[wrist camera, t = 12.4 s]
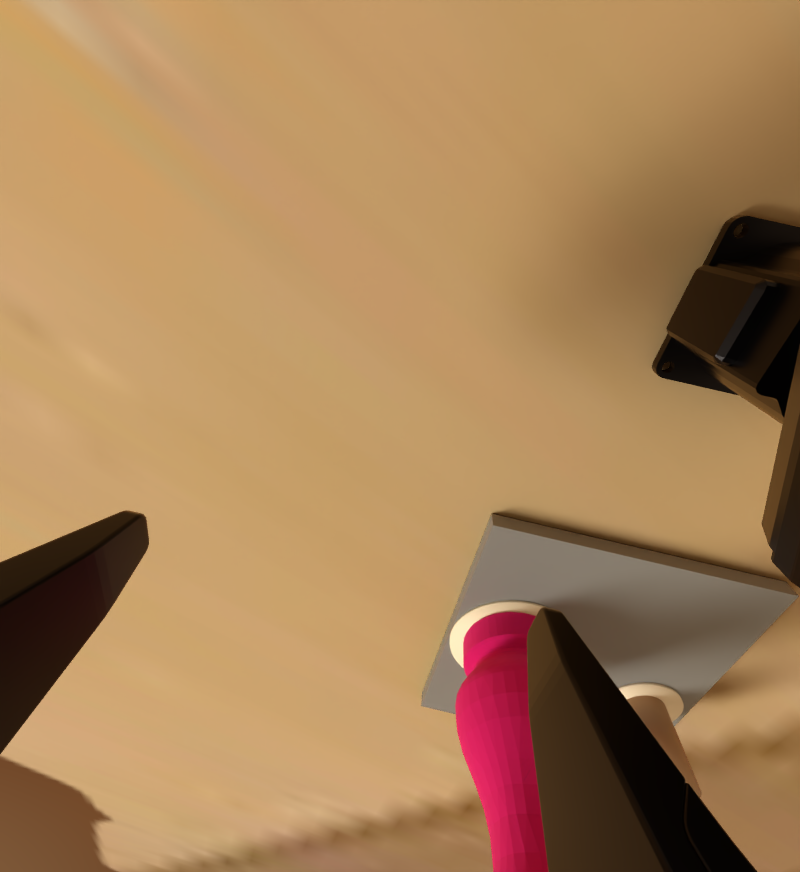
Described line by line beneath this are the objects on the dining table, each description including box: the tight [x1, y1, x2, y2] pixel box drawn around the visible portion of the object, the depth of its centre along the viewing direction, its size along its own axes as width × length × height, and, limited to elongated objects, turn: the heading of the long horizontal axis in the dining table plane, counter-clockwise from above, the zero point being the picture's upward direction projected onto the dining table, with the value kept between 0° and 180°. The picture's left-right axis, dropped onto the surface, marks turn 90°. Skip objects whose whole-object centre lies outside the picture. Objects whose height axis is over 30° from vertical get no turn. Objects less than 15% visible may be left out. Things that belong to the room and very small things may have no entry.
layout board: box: [421, 514, 799, 797], centre depth 26 cm, size 17×18×6 cm
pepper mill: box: [455, 612, 549, 872], centre depth 19 cm, size 7×7×20 cm
